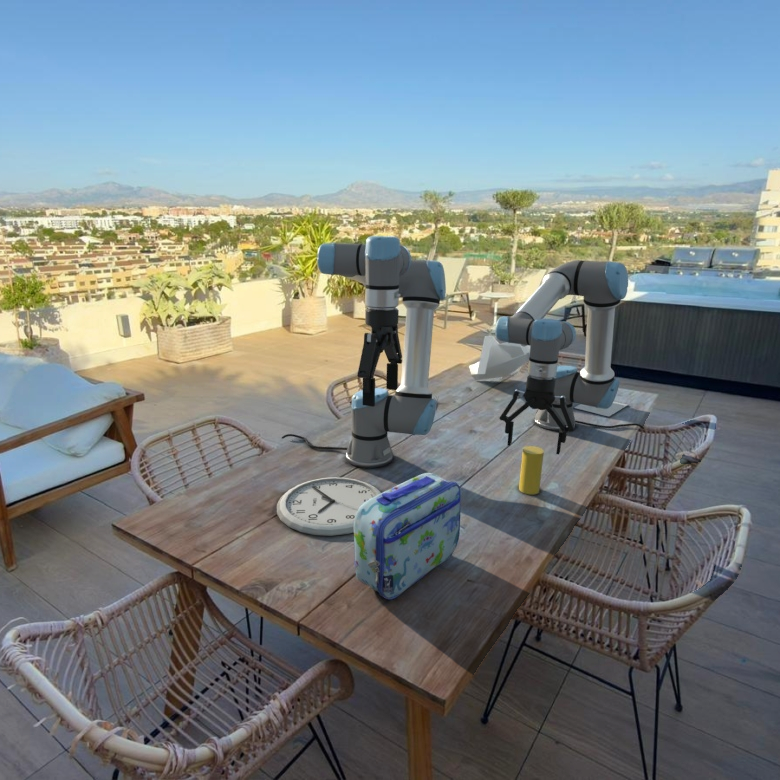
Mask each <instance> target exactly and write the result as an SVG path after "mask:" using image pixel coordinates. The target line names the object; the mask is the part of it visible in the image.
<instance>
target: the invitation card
mask: <svg viewBox="0 0 780 780" xmlns="http://www.w3.org/2000/svg"><path fill="white" fill-rule="evenodd" d="M628 406H629V404H627V403H623V402H618V401H615V400H614V401H613V403H612V405H611V406H610V407H609V408H607V409H603V408H596V407H592V406H587V405H583V404H578V405H575V406H574V407H573V409H575V410H581V411H584V412H587V413H593V414H596V415H600V416H604V417H608V418H609V417H611V416H613V415H614V414H616V413H617V412H619V411H621V410H623V409H624V408H626V407H628Z"/></svg>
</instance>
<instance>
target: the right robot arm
mask: <svg viewBox="0 0 780 780" xmlns="http://www.w3.org/2000/svg"><path fill="white" fill-rule="evenodd" d="M540 283H541V284H540V286H539V287H538V288H537V289H536V290H535V291H534V292H533V293H532V295H530V297H528V299H527V300H526V301H525V302H524V303H523V304H522V305H521V306H520V307H519V309H518V310H517V311H516V312H515V313H513V315H512V316H509V315H507V316H505V315H504V316H500V317H499V318H498V319H497V321H496V323H495V329H494V332H495V337H496V338H495V339H496V340H497V341H500V342H503V343H505V342H508V343H516V344H521V345H522V346H527V345H530V357H529V361H528V364H527V365H528V367H527V374H528V375H527V377H526V383H525V384H526V385H525V391H522V390H520V389H519V388H516V389H515V390H514V392H513V395H512V398H511V399H510V401H509V402H508V404H507V406H506V407H505V409H504V410H503V412H501V414H500V416H499V420H500V421H503V422H504V423H505V427H504V433H505V434H507V447H508V446H509V447H510V446H511V445H512V442H513V436H514V435H513V434H514V424H515V421H513V420H515V419H516V418H517V417H518V416H519V415H521V414H522V413H523V412H524V411H526V410H527V409H528V408H531V409H532V410H536V413H535V416H534V424H535V425H536V426H537V427H539V428H542V429H544V430H549V431H556V432H558V437H557V445H556V455H560V454H561V453H560V452H561V448H562V443H563V444H565V443H566V441H567V435H568V434H567V433H568V432H573V431H574V430H575V428H576V424H580V425H585V426H591V427H596V428H601V429H614V428H620V427H632V426H633V427H634V426H635V427H639V428H640V429H641V430H642V429H643V430H645V427H644V426H643V425H641V424H639V423H624V424H623V423H621V424H620V423H619V424H615V425H614V424H613V425H601V424H596V423H590V422H585V421H580V420H577V419H576V418H575V417H576V416H575V413H574V407H573V405H574V404H578V405H580V404H583V405H587V406H592V407H596V408H603V409H607V408H609V407H610V406H611V405H612V403H613V401H614V402H615V399H616V396H617V394H618V391H619V387H620V379H619V378H617V377H615V371H614V370H613V368H611V366H612V365H611V364H612V352H613V340H614V326H615V315H616V307H618V306H619V305H620V304H621V301H622V300H624V299H625V298H626V296H627V294H628V287H629V273H628V269H627V267H626V265H625V264H624V263H622V262H615V261H611V260H609V261H607V260H606V261H602V260H582V259H581V260H580V259H577V260H571V261H568V262H565V263H562V264H560V265H558V266H556V267H555V268H553V269H552V270H550V271H549V272H548V273H546V275H544V277H543V278H542V280H541V282H540ZM567 296H578V297H583V304H584V305H585V306H586V307H587V318H586V319H587V320H586V337H585V338H586V339H585V354H584V355H585V357H584V367H583V368H581V370H580V371H578V368H577V366H573V365H558V362H559V354H560V351H561V350H564V349H567V348H569V347H570V346H571V345H572V344H573V343H574V341H575V340H576V337H577V331H576V329H575V326H574V325H573V324H572V323H570V322H569V321H560V320H558V319H555V318H554V319H553V318H545V317H546V316H547V315H548V314H549V312H550V311H551V310H552V309H553V308H554V306H555V305H556V304H557V303H558V302H559V300H562V299H564V298H566V297H567ZM522 397H523V398H524V400H525V402H524V403H523V404H521V406H519V407H518V408H517V409H516V410H515V411H514V412H512V413H511V414H509V413H510V411H511V410H512V408H513V406H514V405H515V404H516V402H517V400H518V399H521V398H522ZM508 414H509V416H508Z"/></svg>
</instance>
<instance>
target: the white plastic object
mask: <svg viewBox="0 0 780 780" xmlns="http://www.w3.org/2000/svg"><path fill="white" fill-rule="evenodd" d="M480 352H481V353H480V357H479V361H477V362H475V363H472V364H470V365H469V366H468V367H469V371H470V375H471V376H472V378H473V379H474V381H480V380H488V379H498V378H499V379H500V378H501V379H503V380H504V379H506V378H508V377H511V376H512V373H513V372H515V371H516V370H518V369H520V368H521V367H522V366H524V365H525V364H527V363H529V357H530V345H522V344H516V343H508V342H502V343H501V342H499V340H498V339H497V338H495V336H494V335H484V337H483V342H482V348H481V351H480Z"/></svg>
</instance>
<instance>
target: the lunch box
mask: <svg viewBox="0 0 780 780" xmlns="http://www.w3.org/2000/svg"><path fill="white" fill-rule="evenodd" d="M461 503H462V502H461V487H460V485H459V483H457V482H455V481H448V480H446V479H445V478H442V477H440V476H439V475H437V474H434V473H432V472H424V473H422V474H419V475H416V476H415V477H412V478H409V479H407V480H406V481H404V482H402V483H399V484H398V485H395V486H394V487H391V488H389V489H387V490H385V491H383V492H382V493H381V494H379V495H377V496H375V497H373V498H371V499H369V500H367V501H365V502H364V503H363V504H362V505H361V506H360V508H359V509H358V511H357V513H356V515H355V519H354V532H353V546H354V547H353V548H354V571H355V572H354V573H355V576H356V579H357V580H358V581H359V582H360V583H363V584H364V585H367V586H368V587H370V588H372V589H373V590H374V591H376V592H378V594H379V595H380V596H381V597H382V598H384V599H386V600H394V599H396V598H398V597H399V596H400V595H402V594H403V593H404V592H405V591H406V590H407V589H409V588H410V587H412V586H413V585H414V584H416V583H417V582H418V581H420V580H421V579H422V578H424V577H425V576H426V575H427V574H428V573H429V572H430V571H432V570H433V569H435V568H437V567H438V566H439V565H441V564H443V563H444V562H445V561H447V560H448V559H449V558H451V556H452V555H453V554H454V552H455V550H456V549H457V546H458V543H459V539H460V531H461V510H462V509H461V508H462V507H461Z"/></svg>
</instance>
